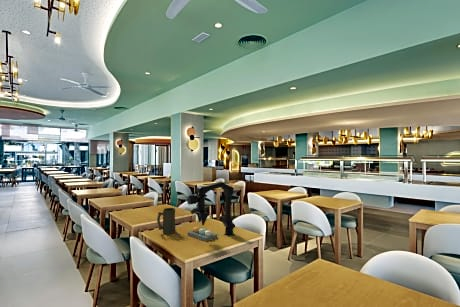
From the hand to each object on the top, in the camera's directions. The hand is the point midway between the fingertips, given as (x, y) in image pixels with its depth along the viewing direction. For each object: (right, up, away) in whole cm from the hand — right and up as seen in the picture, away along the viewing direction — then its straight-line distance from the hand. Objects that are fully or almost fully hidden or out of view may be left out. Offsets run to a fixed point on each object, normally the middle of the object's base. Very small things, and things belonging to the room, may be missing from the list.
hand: (201, 223), depth 189 cm
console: (0, -13, +10) cm, 16 cm away
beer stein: (-31, -13, +19) cm, 39 cm away
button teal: (0, -12, +10) cm, 15 cm away
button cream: (+5, -12, +5) cm, 13 cm away
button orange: (-6, -12, +15) cm, 19 cm away
